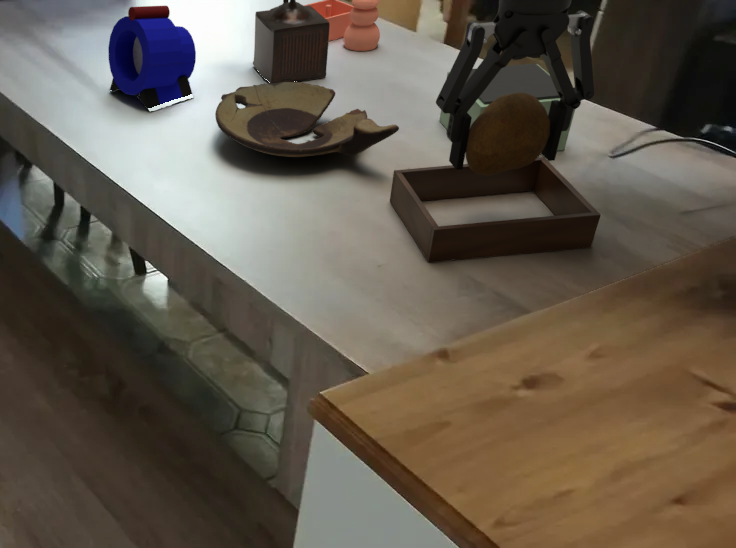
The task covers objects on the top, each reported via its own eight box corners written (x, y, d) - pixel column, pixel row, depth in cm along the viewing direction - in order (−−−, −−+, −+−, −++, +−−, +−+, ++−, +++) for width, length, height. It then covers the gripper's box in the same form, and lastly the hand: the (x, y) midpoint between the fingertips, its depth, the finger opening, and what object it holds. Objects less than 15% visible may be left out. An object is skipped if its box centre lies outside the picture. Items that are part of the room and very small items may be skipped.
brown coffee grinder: (305, 57, 170) (312, -51, 158) (327, 78, 161) (336, -35, 149) (223, 68, 168) (225, -41, 156) (242, 89, 160) (244, -24, 148)
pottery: (292, 30, 181) (295, -24, 174) (330, 20, 184) (335, -34, 177) (351, 56, 169) (357, -2, 162) (391, 45, 172) (399, -12, 165)
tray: (591, 247, 115) (601, 214, 112) (428, 262, 115) (434, 229, 112) (536, 187, 128) (544, 156, 125) (389, 201, 127) (393, 170, 124)
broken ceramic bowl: (310, 102, 154) (314, 54, 149) (417, 172, 133) (426, 120, 128) (189, 129, 148) (188, 81, 143) (280, 207, 127) (283, 153, 122)
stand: (564, 150, 136) (579, 95, 131) (470, 158, 135) (481, 104, 130) (526, 113, 146) (538, 61, 141) (439, 120, 146) (448, 69, 141)
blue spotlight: (106, 93, 162) (99, 1, 152) (162, 75, 166) (160, -15, 156) (146, 113, 154) (142, 18, 144) (204, 94, 159) (204, 1, 149)
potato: (435, 164, 117) (446, 95, 111) (509, 143, 120) (524, 75, 114) (480, 190, 111) (495, 118, 105) (557, 167, 114) (575, 97, 109)
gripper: (629, -51, 104) (579, 139, 118) (425, -32, 103) (400, 156, 118) (664, -33, 98) (607, 164, 113) (448, -13, 98) (418, 182, 112)
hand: (501, 160), depth 115 cm, fingers closed on potato, 11 cm apart
